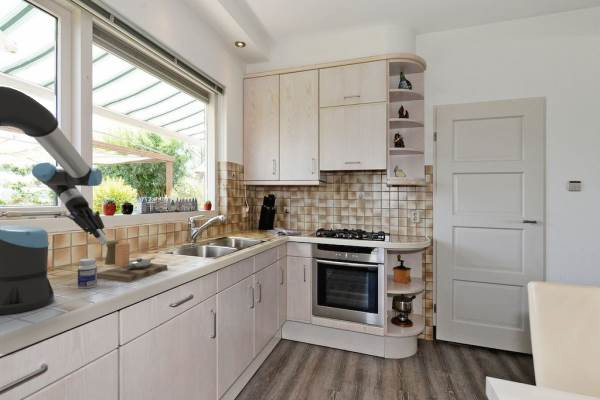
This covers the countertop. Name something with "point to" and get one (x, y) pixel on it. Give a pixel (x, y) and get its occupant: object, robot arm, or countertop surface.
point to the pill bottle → (87, 273)
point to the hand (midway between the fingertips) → (105, 242)
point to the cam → (123, 258)
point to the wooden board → (130, 273)
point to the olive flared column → (110, 252)
